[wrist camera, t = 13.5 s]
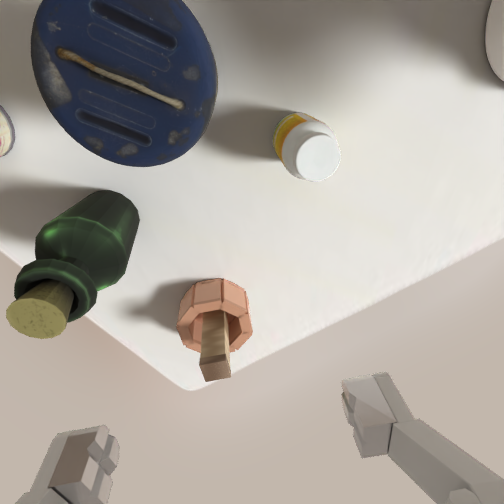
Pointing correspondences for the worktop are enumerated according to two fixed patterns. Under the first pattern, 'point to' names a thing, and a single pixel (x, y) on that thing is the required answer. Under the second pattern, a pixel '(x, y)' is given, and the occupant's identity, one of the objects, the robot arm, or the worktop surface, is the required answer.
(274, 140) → the supplement bottle
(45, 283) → the potion bottle
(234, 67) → the worktop surface
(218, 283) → the terracotta polygonal bowl
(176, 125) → the canister
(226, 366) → the tan wooden post
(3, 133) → the aerosol can
